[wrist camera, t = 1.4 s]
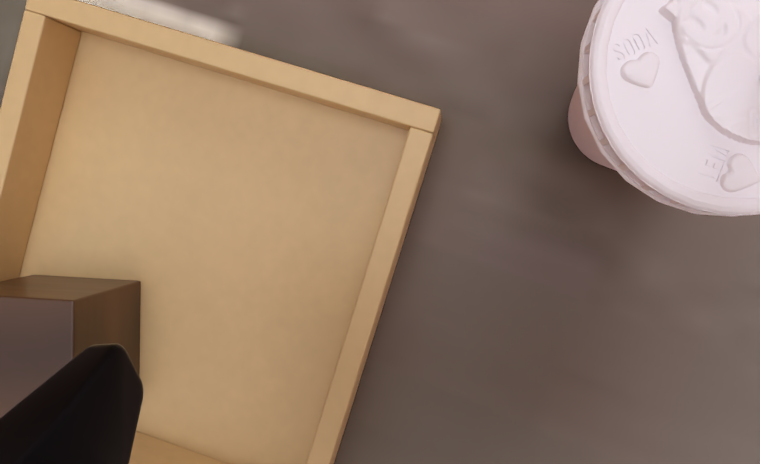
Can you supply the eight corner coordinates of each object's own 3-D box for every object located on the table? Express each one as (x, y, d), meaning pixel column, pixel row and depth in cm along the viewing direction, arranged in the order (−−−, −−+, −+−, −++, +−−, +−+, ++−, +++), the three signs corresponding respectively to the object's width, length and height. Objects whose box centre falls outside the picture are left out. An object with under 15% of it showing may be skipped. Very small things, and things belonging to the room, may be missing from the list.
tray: (319, 508, 25) (303, 549, 22) (-19, 386, 26) (-75, 410, 23) (442, 118, 23) (441, 109, 20) (77, 9, 24) (29, -15, 22)
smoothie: (626, 243, 23) (904, 327, 9) (491, 125, 23) (554, 27, 9) (757, 105, 22) (1287, -42, 8) (615, -16, 22) (892, -358, 8)
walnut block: (140, 393, 24) (72, 438, 20) (33, 385, 25) (-56, 426, 21) (141, 280, 24) (73, 300, 20) (33, 274, 25) (-57, 292, 20)
